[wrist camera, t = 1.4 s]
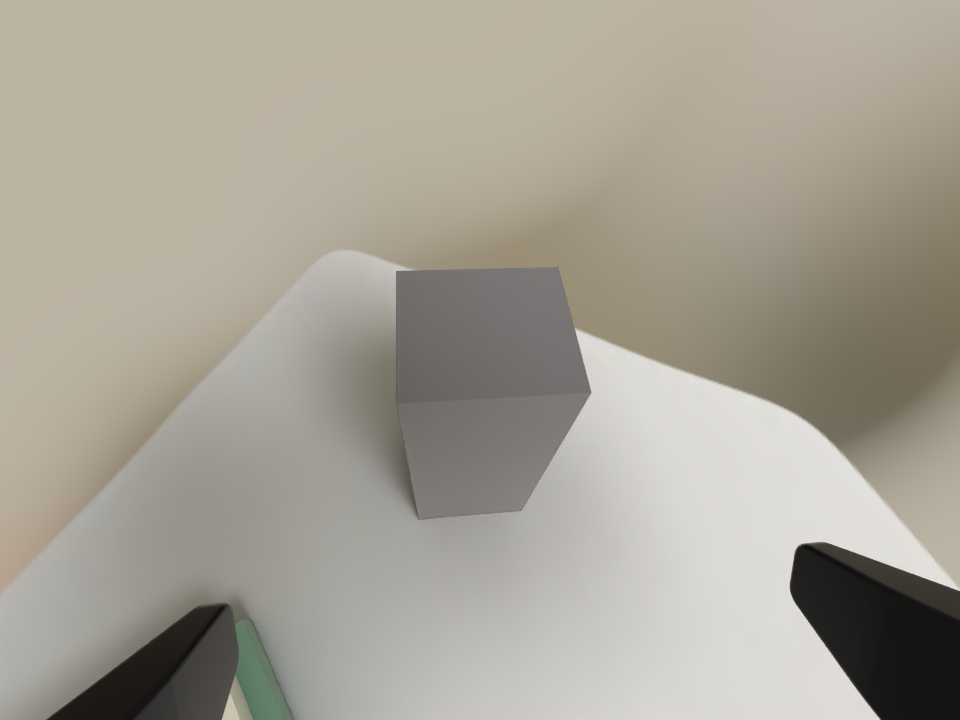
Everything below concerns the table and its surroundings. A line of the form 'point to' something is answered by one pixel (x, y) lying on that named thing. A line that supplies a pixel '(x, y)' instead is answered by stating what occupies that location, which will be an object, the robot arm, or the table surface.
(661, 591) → the table surface
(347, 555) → the table surface
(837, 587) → the robot arm
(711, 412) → the table surface
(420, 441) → the block
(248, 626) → the green flat piece
